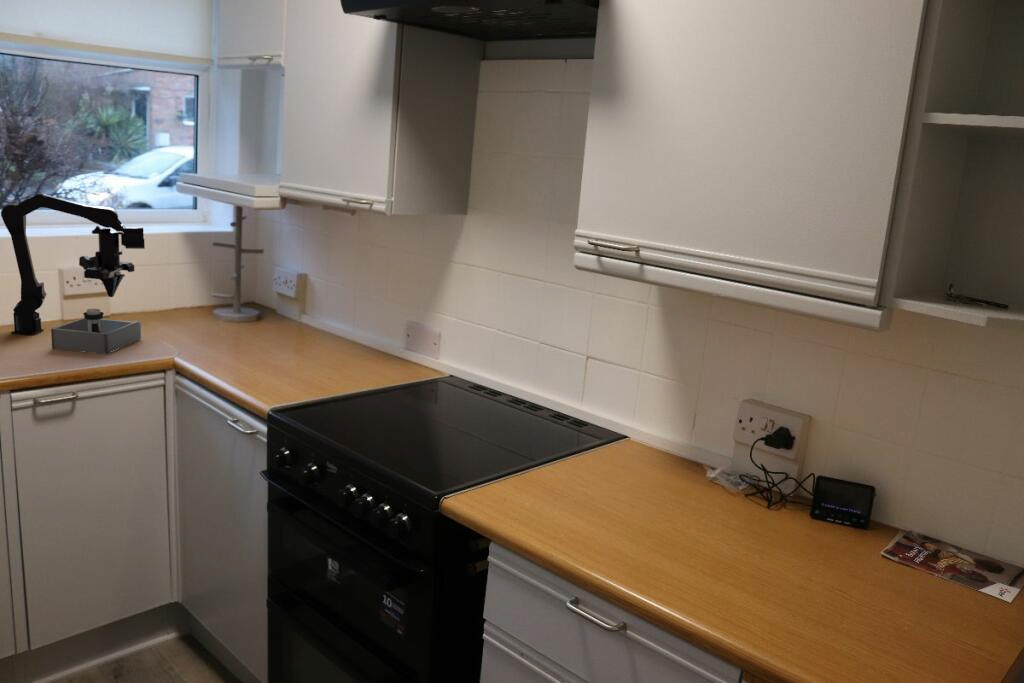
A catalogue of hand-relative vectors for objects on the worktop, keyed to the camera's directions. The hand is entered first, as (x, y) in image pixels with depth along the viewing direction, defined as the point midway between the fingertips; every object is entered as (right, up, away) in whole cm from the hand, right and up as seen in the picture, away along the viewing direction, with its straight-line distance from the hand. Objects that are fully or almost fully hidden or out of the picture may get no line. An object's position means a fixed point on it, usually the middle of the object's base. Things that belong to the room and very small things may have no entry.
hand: (110, 296), depth 258 cm
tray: (+3, -15, -12) cm, 19 cm away
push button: (+2, -15, -16) cm, 22 cm away
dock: (+3, -15, -14) cm, 20 cm away
